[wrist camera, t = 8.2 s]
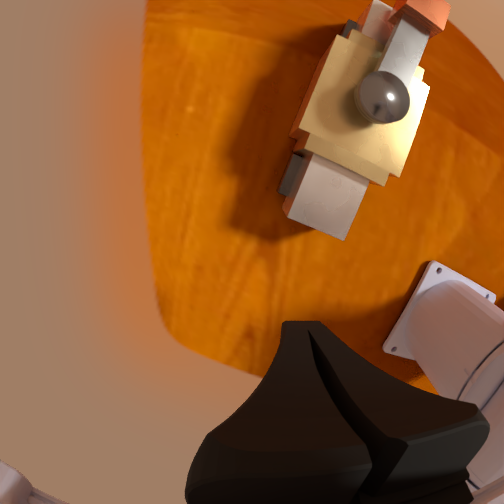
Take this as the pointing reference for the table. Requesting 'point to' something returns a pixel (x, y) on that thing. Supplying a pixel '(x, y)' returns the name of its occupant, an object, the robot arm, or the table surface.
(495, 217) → the table surface
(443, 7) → the lever
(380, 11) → the valve
